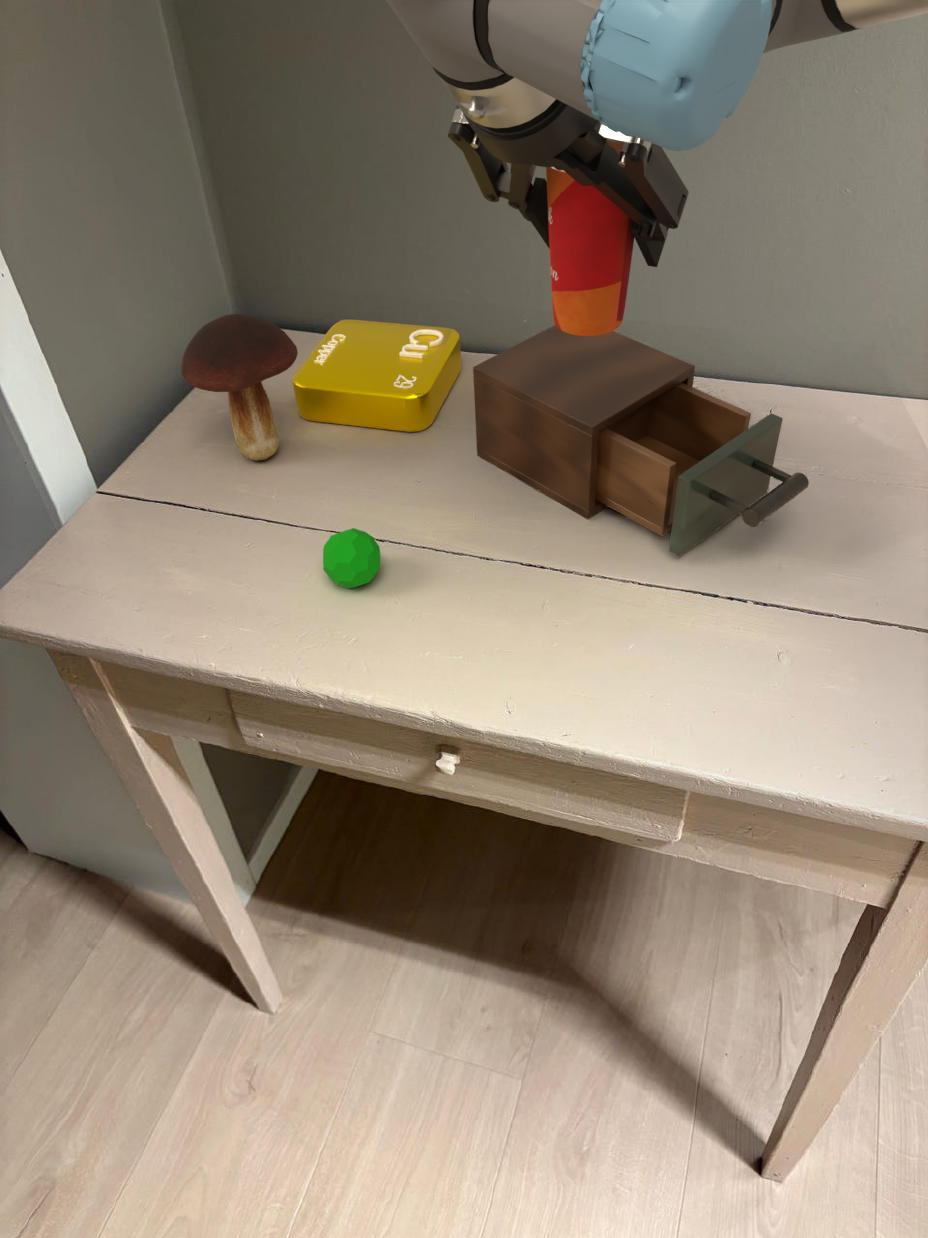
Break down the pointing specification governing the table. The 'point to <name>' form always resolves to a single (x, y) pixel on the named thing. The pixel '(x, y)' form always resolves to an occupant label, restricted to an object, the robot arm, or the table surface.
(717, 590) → the table surface
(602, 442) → the drawer
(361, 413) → the element tile
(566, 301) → the paper cup
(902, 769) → the table surface
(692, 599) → the table surface
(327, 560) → the polyhedron
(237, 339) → the decorative mushroom
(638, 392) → the cabinet
